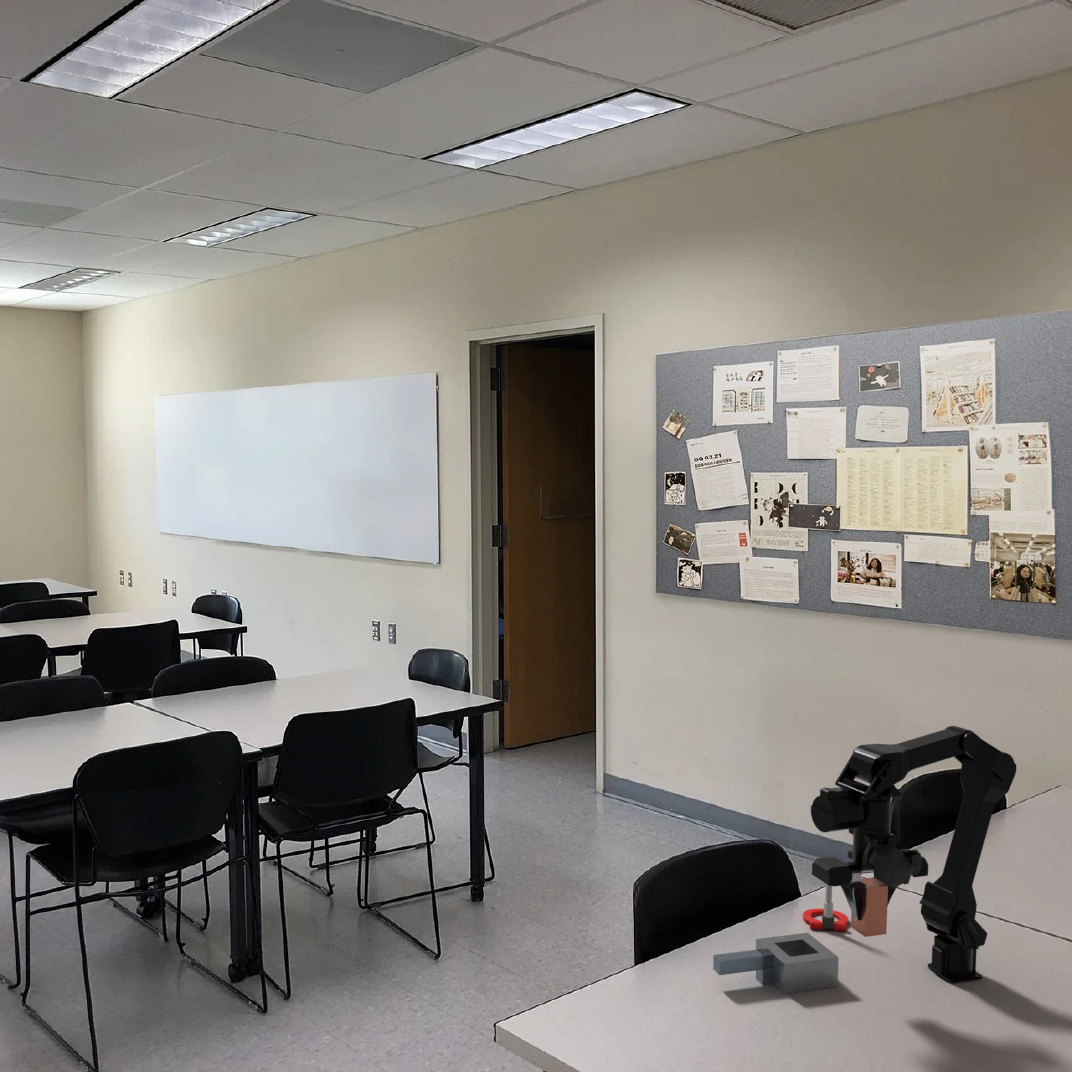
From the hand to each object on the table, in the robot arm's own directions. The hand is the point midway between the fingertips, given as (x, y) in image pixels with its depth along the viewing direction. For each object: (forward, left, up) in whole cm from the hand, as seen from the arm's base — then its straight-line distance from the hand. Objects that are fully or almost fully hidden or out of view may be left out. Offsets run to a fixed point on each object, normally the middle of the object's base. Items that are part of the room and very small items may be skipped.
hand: (868, 918), depth 181 cm
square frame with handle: (+13, -9, -13) cm, 20 cm away
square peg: (0, 0, -2) cm, 2 cm away
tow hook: (-9, -28, -13) cm, 32 cm away
